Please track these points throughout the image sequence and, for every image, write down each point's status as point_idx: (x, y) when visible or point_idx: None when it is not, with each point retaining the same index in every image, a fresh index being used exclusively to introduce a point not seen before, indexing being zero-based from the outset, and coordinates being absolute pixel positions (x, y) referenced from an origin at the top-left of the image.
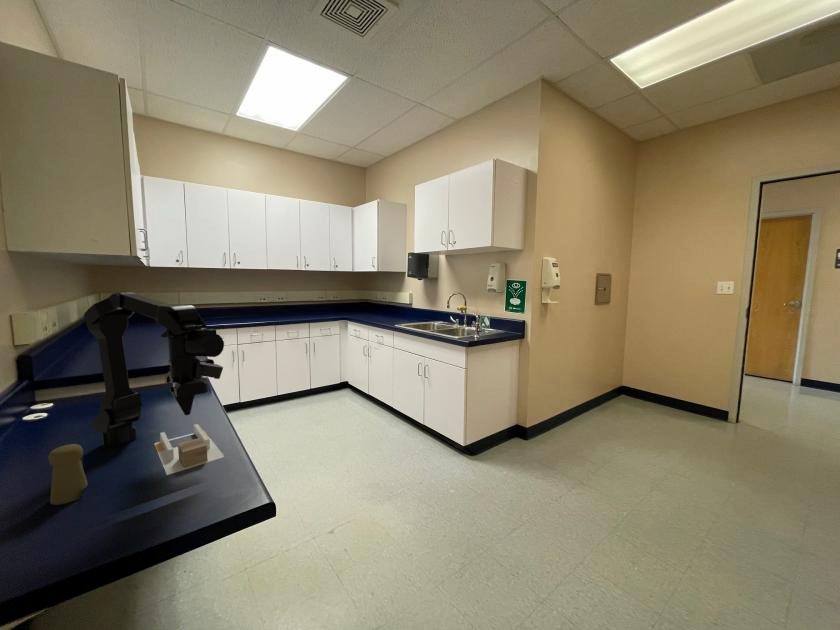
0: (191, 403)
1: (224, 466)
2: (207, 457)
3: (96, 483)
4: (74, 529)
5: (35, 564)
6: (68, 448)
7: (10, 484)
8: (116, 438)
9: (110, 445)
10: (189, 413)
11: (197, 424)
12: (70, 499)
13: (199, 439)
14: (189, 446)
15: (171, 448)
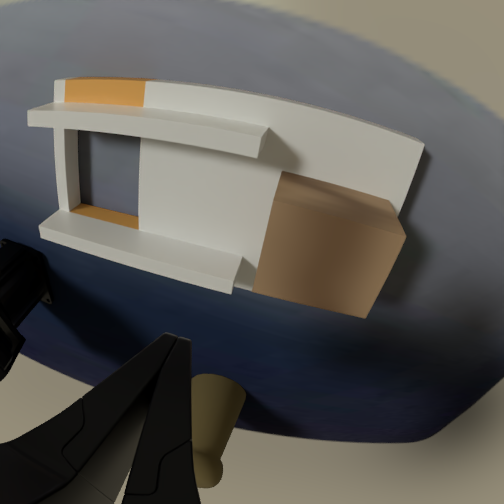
0: (191, 436)
1: (441, 159)
2: (360, 184)
3: (197, 362)
4: (356, 413)
5: (390, 434)
6: (203, 485)
7: None
8: (26, 302)
9: (35, 299)
10: (191, 350)
11: (33, 112)
12: (244, 400)
13: (296, 218)
14: (338, 282)
15: (221, 281)
